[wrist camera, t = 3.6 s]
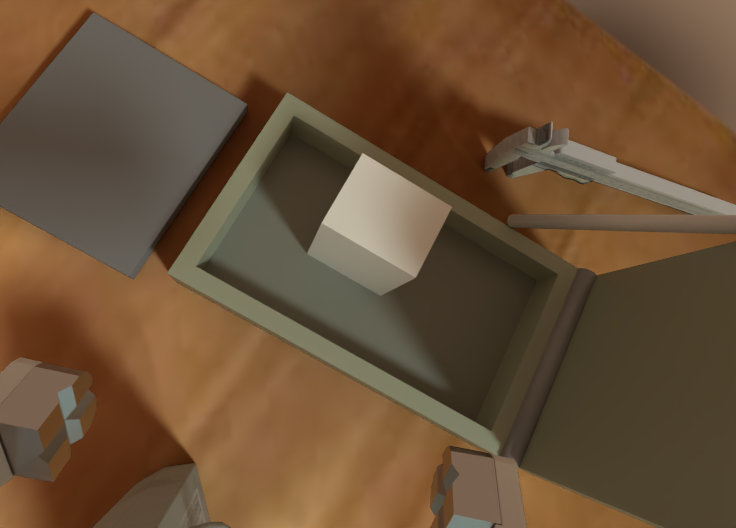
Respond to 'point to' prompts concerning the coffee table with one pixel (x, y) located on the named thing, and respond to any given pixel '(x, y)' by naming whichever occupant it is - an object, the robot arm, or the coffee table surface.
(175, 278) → the equipment case
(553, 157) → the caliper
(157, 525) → the geiger counter
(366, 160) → the block
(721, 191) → the coffee table surface
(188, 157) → the rubber mat
